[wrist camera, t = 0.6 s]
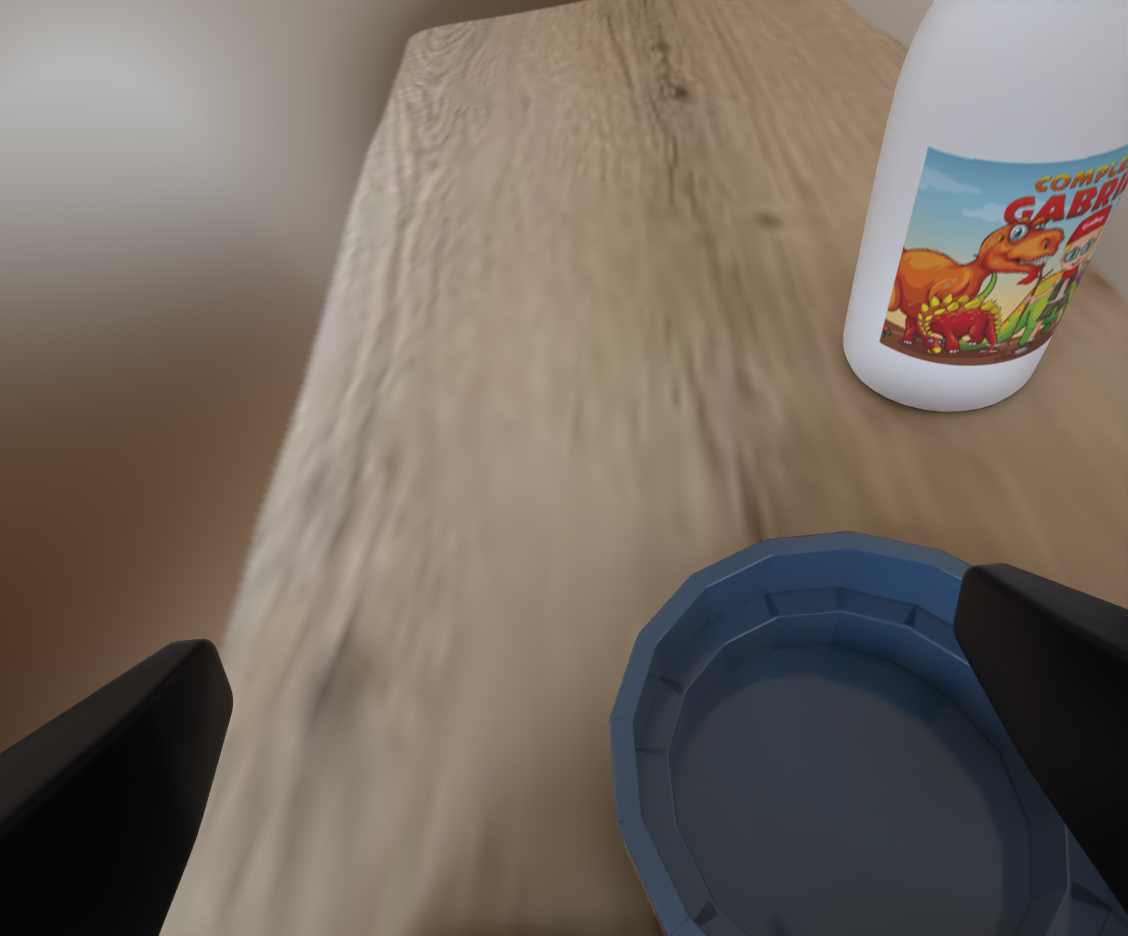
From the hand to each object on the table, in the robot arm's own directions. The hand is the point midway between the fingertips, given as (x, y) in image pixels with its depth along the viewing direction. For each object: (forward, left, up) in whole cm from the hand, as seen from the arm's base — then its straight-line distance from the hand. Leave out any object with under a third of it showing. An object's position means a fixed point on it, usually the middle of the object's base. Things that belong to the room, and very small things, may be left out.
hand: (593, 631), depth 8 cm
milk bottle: (+19, -14, -15) cm, 29 cm away
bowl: (+1, -5, -15) cm, 16 cm away
